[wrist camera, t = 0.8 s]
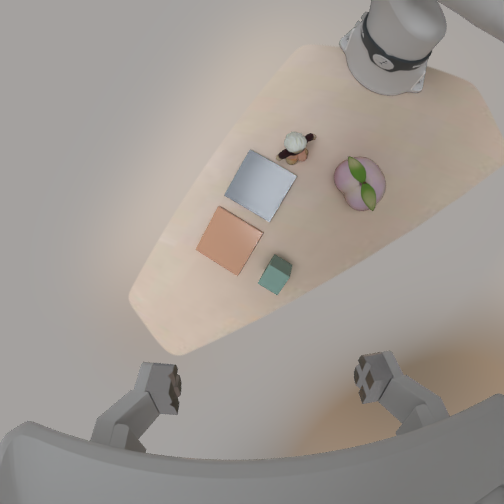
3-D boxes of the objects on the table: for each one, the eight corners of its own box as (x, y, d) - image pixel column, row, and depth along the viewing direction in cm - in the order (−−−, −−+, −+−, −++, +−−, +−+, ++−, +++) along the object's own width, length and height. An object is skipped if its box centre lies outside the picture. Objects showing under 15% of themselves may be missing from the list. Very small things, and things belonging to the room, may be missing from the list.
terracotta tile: (219, 206, 55) (218, 206, 54) (263, 232, 54) (262, 233, 53) (197, 248, 58) (195, 249, 57) (238, 274, 57) (237, 275, 56)
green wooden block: (274, 254, 55) (269, 264, 48) (292, 265, 55) (289, 276, 47) (264, 270, 56) (257, 283, 49) (281, 281, 56) (277, 295, 49)
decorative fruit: (386, 192, 48) (403, 193, 38) (352, 215, 50) (362, 221, 41) (359, 150, 47) (370, 141, 38) (324, 173, 50) (328, 169, 40)
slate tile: (251, 150, 51) (250, 149, 50) (297, 176, 51) (296, 176, 50) (225, 195, 54) (224, 195, 53) (270, 221, 54) (269, 222, 53)
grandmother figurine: (291, 174, 51) (285, 169, 39) (276, 159, 51) (267, 150, 39) (320, 146, 49) (324, 133, 36) (305, 132, 48) (304, 115, 36)
